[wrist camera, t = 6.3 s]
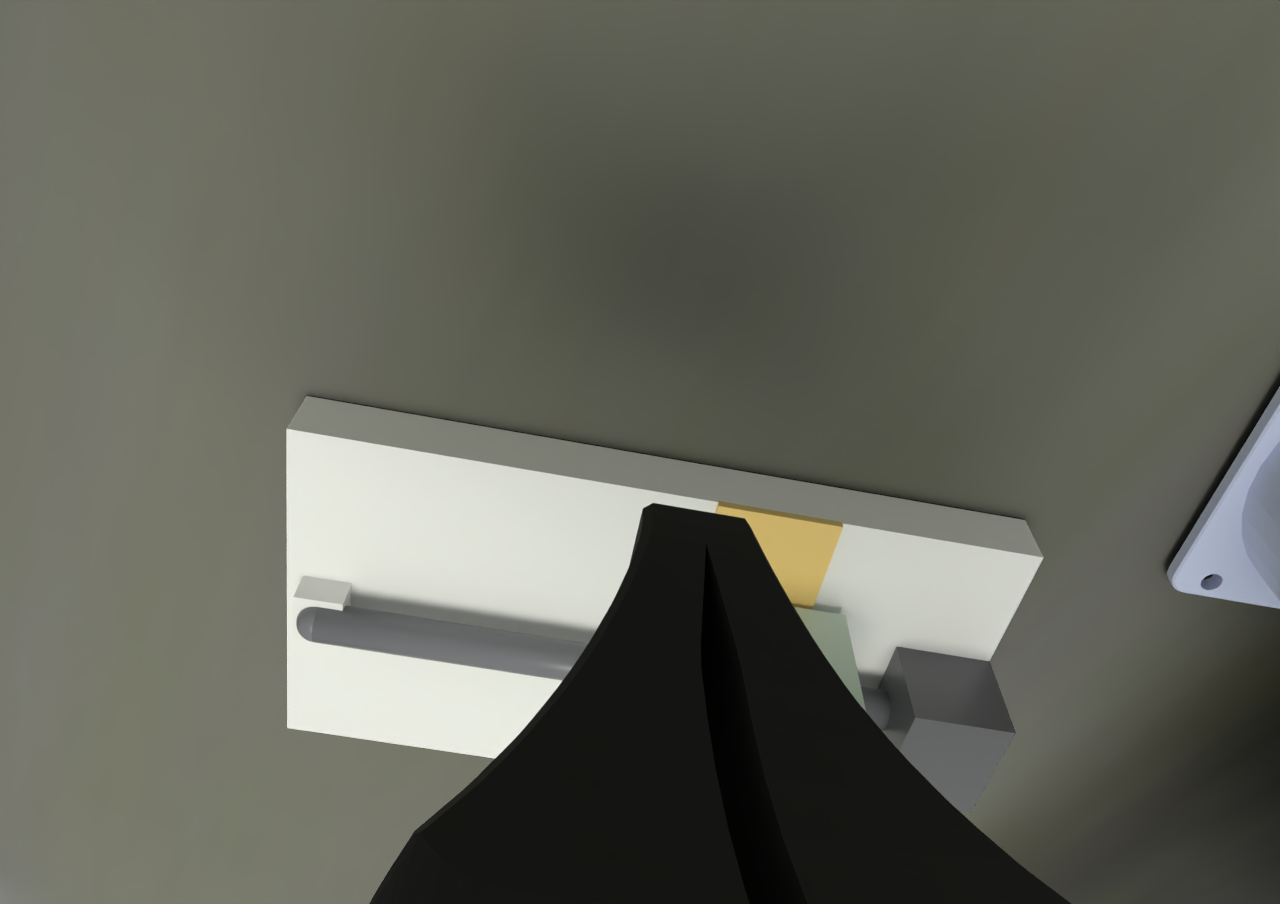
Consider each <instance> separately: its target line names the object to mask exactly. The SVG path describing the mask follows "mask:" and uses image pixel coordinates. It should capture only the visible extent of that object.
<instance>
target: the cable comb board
mask: <svg viewBox="0 0 1280 904" xmlns="http://www.w3.org/2000/svg"><path fill="white" fill-rule="evenodd" d="M652 503H657V504H663V505H669V506H675V507H681V508H687V509H692V510H698V511H704V512H710V513H716V514H722V515H728V516H734V517H740V518H745V519H746V521H747V522H748V524H749V525H750V527H751V529H752V531H753V533H754V535H755V536H756V538H757V540H758V542H759V544H760V546H761V548H762V550H763V552H764V554H765V556H766V558H767V560H768V562H769V563H770V565H771V567H772V569H773V571H774V573H775V574H776V576H777V578H778V580H779V582H780V584H781V585H782V587H783V589H784V591H785V592H786V594H787V596H788V598H789V599H790V601H791V603H792V605H793V606H794V607H798V608H805V609H811V610H817V611H823V612H829V613H835V614H841V615H846V620H847V624H848V629H849V634H850V638H851V643H852V648H853V652H854V657H855V662H856V666H857V671H858V676H859V680H860V685H861V690H862V695H863V699H864V704H865V709H866V713H867V714H868V715H869V716H870V717H871V718H872V720H873V721H874V722H875V723H876V724H877V726H878V727H879V728H880V729H881V730H882V732H883V733H884V734H885V735H886V736H887V738H888V739H889V740H890V741H891V742H892V743H893V744H894V746H895V747H896V748H897V749H898V750H899V751H900V752H901V753H902V754H903V755H904V756H905V758H906V759H907V760H908V761H909V762H910V763H911V764H912V765H913V766H914V767H915V768H916V769H917V770H918V771H919V772H920V773H921V774H922V775H923V776H924V777H925V778H926V779H927V780H928V781H929V782H930V783H931V784H932V785H933V786H934V787H935V788H936V789H937V790H938V791H939V792H940V793H941V794H942V795H943V796H944V797H945V798H946V799H947V800H948V801H949V802H950V803H951V804H952V805H953V806H954V807H955V808H956V809H957V810H958V811H963V812H970V813H971V811H972V809H973V807H974V806H975V804H976V802H977V800H978V799H979V797H980V795H981V793H982V792H983V790H984V788H985V786H986V785H987V783H988V781H989V779H990V778H991V776H992V774H993V772H994V771H995V769H996V767H997V765H998V764H999V762H1000V760H1001V759H1002V757H1003V755H1004V753H1005V752H1006V750H1007V748H1008V746H1009V745H1010V743H1011V741H1012V739H1013V738H1014V736H1015V734H1016V732H1015V729H1014V727H1013V724H1012V721H1011V719H1010V716H1009V713H1008V710H1007V708H1006V705H1005V702H1004V700H1003V697H1002V694H1001V691H1000V689H999V686H998V683H997V681H996V678H995V675H994V673H993V670H992V667H991V664H990V662H989V661H990V659H991V657H992V655H993V653H994V651H995V650H996V648H997V646H998V644H999V642H1000V640H1001V638H1002V636H1003V634H1004V632H1005V630H1006V628H1007V627H1008V625H1009V623H1010V621H1011V619H1012V617H1013V615H1014V613H1015V611H1016V609H1017V607H1018V605H1019V604H1020V602H1021V600H1022V598H1023V596H1024V594H1025V592H1026V590H1027V588H1028V586H1029V584H1030V583H1031V581H1032V579H1033V577H1034V575H1035V573H1036V571H1037V569H1038V567H1039V565H1040V563H1041V561H1042V560H1043V556H1042V553H1041V551H1040V549H1039V547H1038V545H1037V543H1036V541H1035V539H1034V537H1033V535H1032V533H1031V531H1030V529H1029V527H1028V525H1027V523H1026V521H1025V520H1021V519H1015V518H1010V517H1004V516H998V515H992V514H987V513H981V512H975V511H969V510H963V509H958V508H952V507H946V506H940V505H934V504H929V503H923V502H917V501H911V500H906V499H900V498H894V497H888V496H882V495H877V494H871V493H865V492H859V491H854V490H848V489H842V488H836V487H830V486H825V485H819V484H813V483H807V482H801V481H796V480H790V479H784V478H778V477H773V476H767V475H761V474H755V473H749V472H744V471H738V470H732V469H726V468H721V467H715V466H709V465H703V464H697V463H692V462H686V461H680V460H674V459H668V458H663V457H657V456H651V455H645V454H640V453H634V452H628V451H622V450H616V449H611V448H605V447H599V446H593V445H588V444H582V443H576V442H570V441H564V440H559V439H553V438H547V437H541V436H535V435H530V434H524V433H518V432H512V431H507V430H501V429H495V428H489V427H483V426H478V425H472V424H466V423H460V422H455V421H449V420H443V419H437V418H431V417H426V416H420V415H414V414H408V413H403V412H397V411H391V410H385V409H379V408H374V407H368V406H362V405H356V404H350V403H345V402H339V401H333V400H327V399H322V398H316V397H310V396H306V398H305V399H304V401H303V403H302V404H301V406H300V408H299V409H298V411H297V413H296V414H295V416H294V417H293V419H292V421H291V422H290V424H289V426H288V427H287V728H292V729H299V730H305V731H312V732H319V733H326V734H333V735H339V736H346V737H353V738H360V739H367V740H374V741H380V742H387V743H394V744H401V745H408V746H414V747H421V748H428V749H435V750H442V751H448V752H455V753H462V754H469V755H476V756H482V757H489V758H496V757H497V756H498V755H499V754H500V753H501V752H502V751H503V750H504V749H505V748H506V747H507V746H508V745H509V744H510V743H511V742H512V741H513V740H514V739H515V738H516V737H517V736H518V735H519V733H520V732H521V731H522V730H523V729H524V728H525V727H526V726H527V724H528V723H529V722H530V721H531V720H532V719H533V717H534V716H535V715H536V714H537V712H538V711H539V710H540V709H541V708H542V706H543V705H544V704H545V703H546V701H547V700H548V699H549V698H550V696H551V695H552V694H553V693H554V692H555V690H556V689H557V688H558V686H559V685H560V684H561V682H562V681H563V680H564V678H565V677H566V675H567V674H568V673H569V671H570V670H571V669H572V667H573V666H574V664H575V663H576V661H577V660H578V658H579V657H580V655H581V654H582V652H583V651H584V649H585V648H586V646H587V645H588V643H589V642H590V640H591V638H592V637H593V635H594V633H595V631H596V630H597V628H598V626H599V625H600V623H601V621H602V619H603V618H604V616H605V614H606V613H607V611H608V609H609V607H610V606H611V604H612V602H613V600H614V598H615V596H616V594H617V592H618V590H619V587H620V585H621V583H622V581H623V579H624V577H625V575H626V572H627V570H628V568H629V565H630V561H631V556H632V552H633V548H634V544H635V539H636V535H637V531H638V527H639V522H640V518H641V514H642V510H643V508H645V507H646V506H648V505H650V504H652Z"/></svg>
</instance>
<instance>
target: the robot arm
mask: <svg viewBox="0 0 1280 904" xmlns="http://www.w3.org/2000/svg"><path fill="white" fill-rule="evenodd" d="M1211 574H1214V575H1213V576H1212V577H1211V578H1208V579H1206V580H1203V579H1204V578H1205V577H1206V576H1208V575H1211ZM1167 576H1168V579H1169V581H1170V582H1171V584H1172V586H1173V587H1174V588H1175V589H1176V590H1178V591H1180V592H1183V593H1189V594H1195V595H1201V596H1207V597H1213V598H1219V599H1225V600H1230V601H1236V602H1242V603H1248V604H1254V605H1260V606H1266V607H1272V608H1278V609H1280V387H1279V388H1278V390H1277V392H1276V393H1275V395H1274V397H1273V398H1272V400H1271V402H1270V403H1269V405H1268V406H1267V408H1266V410H1265V411H1264V413H1263V415H1262V416H1261V418H1260V419H1259V421H1258V423H1257V424H1256V426H1255V428H1254V429H1253V431H1252V432H1251V434H1250V436H1249V437H1248V439H1247V441H1246V442H1245V444H1244V446H1243V447H1242V449H1241V450H1240V452H1239V454H1238V455H1237V457H1236V459H1235V460H1234V462H1233V463H1232V465H1231V467H1230V468H1229V470H1228V472H1227V473H1226V475H1225V477H1224V478H1223V480H1222V481H1221V483H1220V485H1219V486H1218V488H1217V490H1216V491H1215V493H1214V494H1213V496H1212V498H1211V499H1210V501H1209V503H1208V504H1207V506H1206V507H1205V509H1204V511H1203V512H1202V514H1201V516H1200V517H1199V519H1198V521H1197V522H1196V524H1195V525H1194V527H1193V529H1192V530H1191V532H1190V534H1189V535H1188V537H1187V538H1186V540H1185V542H1184V543H1183V545H1182V547H1181V548H1180V550H1179V551H1178V553H1177V555H1176V556H1175V558H1174V560H1173V561H1172V563H1171V565H1170V566H1169V568H1168V571H1167ZM370 904H1071V903H1070V902H1068V901H1067V900H1066V899H1064V898H1063V897H1062V896H1060V895H1059V894H1058V893H1056V892H1055V891H1054V890H1052V889H1051V888H1050V887H1048V886H1047V885H1046V884H1044V883H1043V882H1042V881H1040V880H1039V879H1038V878H1037V877H1035V876H1034V875H1033V874H1031V873H1030V872H1029V871H1027V870H1026V869H1025V868H1024V867H1022V866H1021V865H1020V864H1019V863H1017V862H1016V861H1015V860H1014V859H1013V858H1012V857H1010V856H1009V855H1008V854H1007V853H1006V852H1005V851H1003V850H1002V849H1001V848H1000V847H999V846H998V845H996V844H995V843H994V842H993V841H992V840H991V839H989V838H988V837H987V836H986V835H985V834H984V833H983V832H981V831H980V830H979V829H978V828H977V827H976V826H975V825H973V824H972V823H971V822H970V821H969V820H968V819H967V818H966V817H965V816H964V815H963V814H962V813H960V812H959V811H958V810H957V809H956V808H955V807H954V806H953V805H952V804H951V803H950V802H949V801H948V800H947V799H946V798H945V797H944V796H943V795H942V794H941V793H940V792H939V791H938V790H937V789H936V788H935V787H934V786H933V785H932V784H931V783H930V782H929V781H928V780H927V779H926V778H925V777H924V776H923V775H922V774H921V773H920V772H919V771H918V770H917V769H916V768H915V767H914V766H913V765H912V764H911V763H910V762H909V761H908V760H907V759H906V758H905V756H904V755H903V754H902V753H901V752H900V751H899V750H898V749H897V748H896V747H895V746H894V744H893V743H892V742H891V741H890V740H889V739H888V738H887V736H886V735H885V734H884V733H883V732H882V730H881V729H880V728H879V727H878V726H877V724H876V723H875V722H874V721H873V720H872V718H871V717H870V716H869V715H868V714H867V713H866V711H865V710H864V709H863V708H862V707H861V705H860V704H859V703H858V702H857V700H856V699H855V698H854V696H853V695H852V694H851V692H850V691H849V690H848V688H847V687H846V686H845V684H844V683H843V681H842V680H841V679H840V677H839V676H838V674H837V673H836V671H835V670H834V669H833V667H832V666H831V664H830V663H829V661H828V660H827V659H826V657H825V656H824V654H823V653H822V651H821V649H820V648H819V646H818V645H817V643H816V642H815V640H814V639H813V637H812V636H811V634H810V632H809V631H808V629H807V627H806V626H805V624H804V623H803V621H802V619H801V618H800V616H799V614H798V613H797V611H796V609H795V608H794V606H793V605H792V603H791V601H790V599H789V598H788V596H787V594H786V592H785V591H784V589H783V587H782V585H781V584H780V582H779V580H778V578H777V576H776V574H775V573H774V571H773V569H772V567H771V565H770V563H769V562H768V560H767V558H766V556H765V554H764V552H763V550H762V548H761V546H760V544H759V542H758V540H757V538H756V536H755V535H754V533H753V531H752V529H751V527H750V525H749V524H748V522H747V521H746V519H745V518H740V517H734V516H728V515H722V514H716V513H710V512H704V511H698V510H692V509H687V508H681V507H675V506H669V505H663V504H657V503H652V504H650V505H648V506H646V507H645V508H643V510H642V514H641V518H640V522H639V527H638V531H637V535H636V539H635V544H634V548H633V552H632V556H631V561H630V565H629V568H628V570H627V572H626V575H625V577H624V579H623V581H622V583H621V585H620V587H619V590H618V592H617V594H616V596H615V598H614V600H613V602H612V604H611V606H610V607H609V609H608V611H607V613H606V614H605V616H604V618H603V619H602V621H601V623H600V625H599V626H598V628H597V630H596V631H595V633H594V635H593V637H592V638H591V640H590V642H589V643H588V645H587V646H586V648H585V649H584V651H583V652H582V654H581V655H580V657H579V658H578V660H577V661H576V663H575V664H574V666H573V667H572V669H571V670H570V671H569V673H568V674H567V675H566V677H565V678H564V680H563V681H562V682H561V684H560V685H559V686H558V688H557V689H556V690H555V692H554V693H553V694H552V695H551V696H550V698H549V699H548V700H547V701H546V703H545V704H544V705H543V706H542V708H541V709H540V710H539V711H538V712H537V714H536V715H535V716H534V717H533V719H532V720H531V721H530V722H529V723H528V724H527V726H526V727H525V728H524V729H523V730H522V731H521V732H520V733H519V735H518V736H517V737H516V738H515V739H514V740H513V741H512V742H511V743H510V744H509V745H508V746H507V747H506V748H505V749H504V750H503V751H502V752H501V753H500V754H499V755H498V756H497V757H496V758H495V759H494V760H493V761H492V762H491V763H490V764H489V765H488V766H487V767H486V768H485V769H484V770H483V771H482V772H481V774H480V775H479V776H478V777H477V778H476V779H474V780H473V781H472V782H471V783H470V784H469V785H468V786H467V787H466V788H465V789H464V790H463V791H461V792H460V793H459V794H458V795H457V796H455V797H454V798H453V799H452V800H451V801H450V802H448V803H447V804H446V805H445V806H444V807H442V808H441V809H440V810H439V811H438V812H437V813H435V814H434V815H433V816H432V817H431V818H430V819H428V820H427V821H426V822H425V823H424V824H422V825H421V826H420V827H419V828H418V829H417V830H415V831H414V833H413V835H412V836H411V838H410V839H409V841H408V842H407V844H406V845H405V847H404V848H403V850H402V851H401V853H400V855H399V856H398V858H397V859H396V861H395V862H394V864H393V865H392V867H391V868H390V870H389V872H388V873H387V875H386V876H385V878H384V880H383V881H382V883H381V885H380V886H379V888H378V890H377V891H376V893H375V895H374V896H373V898H372V900H371V902H370Z"/></svg>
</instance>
